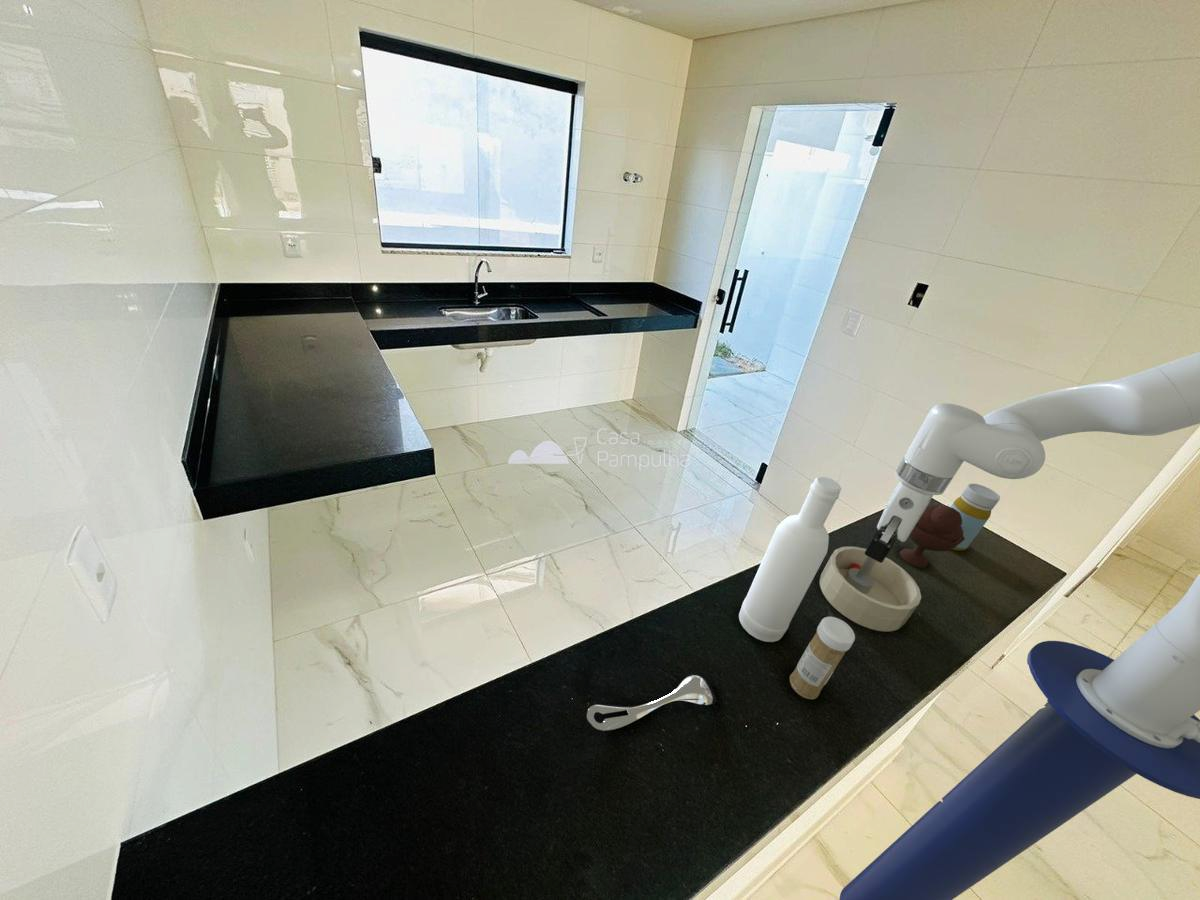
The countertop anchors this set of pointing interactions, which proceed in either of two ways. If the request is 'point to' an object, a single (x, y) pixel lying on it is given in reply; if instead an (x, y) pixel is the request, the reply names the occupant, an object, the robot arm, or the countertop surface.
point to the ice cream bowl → (934, 533)
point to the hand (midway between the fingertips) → (874, 554)
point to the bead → (855, 566)
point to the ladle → (861, 576)
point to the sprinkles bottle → (821, 657)
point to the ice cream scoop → (654, 703)
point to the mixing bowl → (882, 603)
